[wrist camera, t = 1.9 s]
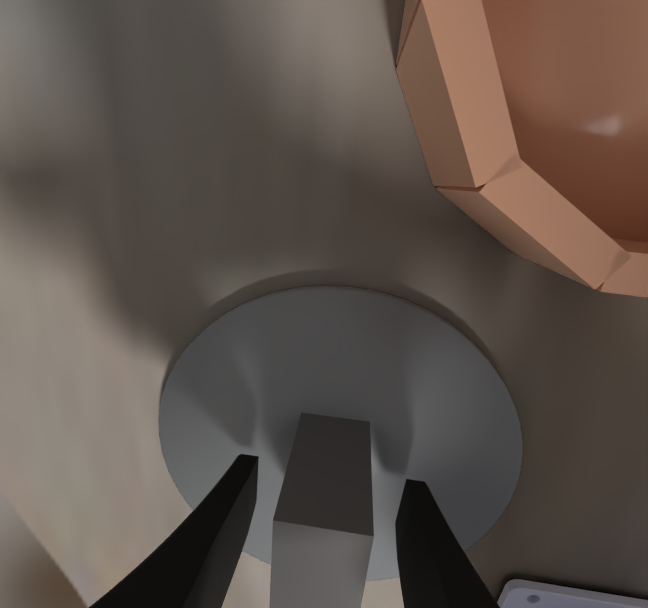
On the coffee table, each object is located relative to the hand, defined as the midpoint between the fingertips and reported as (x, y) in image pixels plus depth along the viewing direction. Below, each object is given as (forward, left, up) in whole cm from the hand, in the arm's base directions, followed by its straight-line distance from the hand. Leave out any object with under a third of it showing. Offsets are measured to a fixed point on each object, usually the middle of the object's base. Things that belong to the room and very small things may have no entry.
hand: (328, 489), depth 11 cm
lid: (0, 0, -2) cm, 2 cm away
